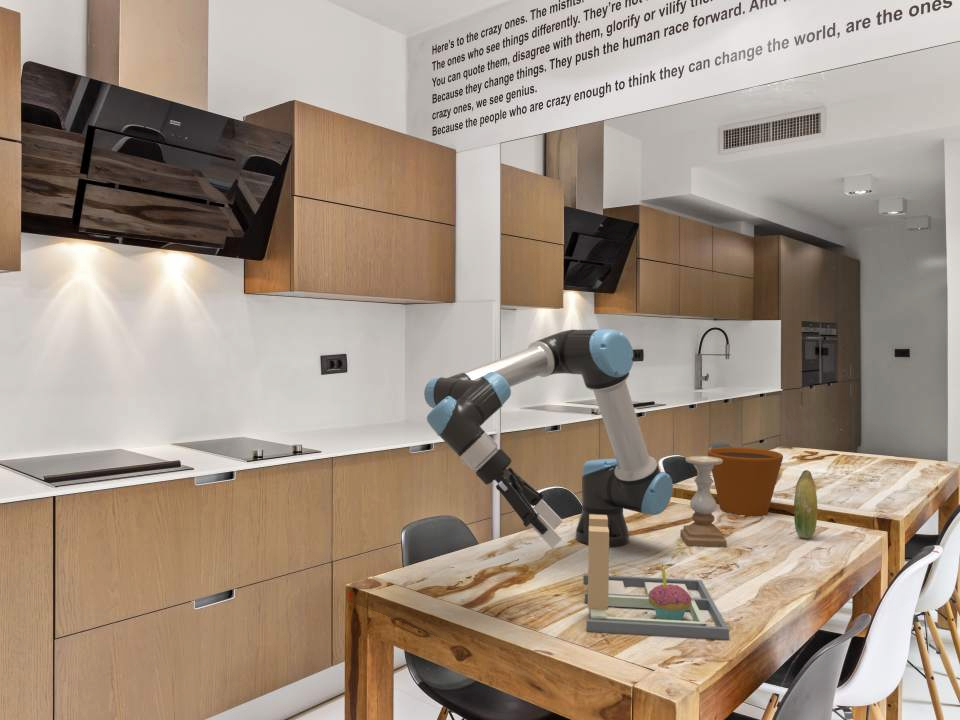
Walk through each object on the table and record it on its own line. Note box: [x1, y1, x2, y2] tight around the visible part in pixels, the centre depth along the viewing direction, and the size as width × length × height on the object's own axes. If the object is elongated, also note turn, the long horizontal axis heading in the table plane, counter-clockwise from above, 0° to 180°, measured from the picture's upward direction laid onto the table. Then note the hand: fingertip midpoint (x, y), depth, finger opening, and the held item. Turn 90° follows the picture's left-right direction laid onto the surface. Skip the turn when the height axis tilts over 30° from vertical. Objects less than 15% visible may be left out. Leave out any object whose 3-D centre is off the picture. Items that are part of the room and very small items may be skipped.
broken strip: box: [589, 514, 692, 598], centre depth 157 cm, size 22×10×17 cm, turn 83°
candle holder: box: [679, 455, 728, 548], centre depth 200 cm, size 11×11×24 cm
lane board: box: [582, 573, 730, 641], centre depth 150 cm, size 27×28×2 cm
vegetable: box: [793, 469, 818, 540], centre depth 204 cm, size 6×6×20 cm
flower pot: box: [707, 446, 784, 517], centre depth 237 cm, size 24×24×20 cm
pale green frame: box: [587, 526, 707, 626], centre depth 144 cm, size 22×13×18 cm, turn 83°
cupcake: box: [649, 563, 692, 621], centre depth 143 cm, size 9×8×12 cm
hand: (558, 534), depth 145 cm, fingers open, 13 cm apart
